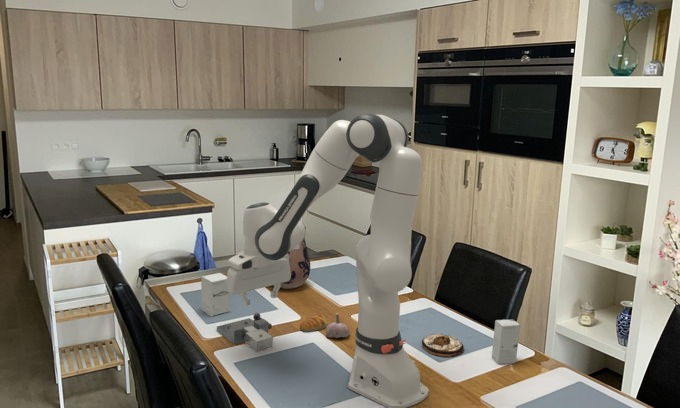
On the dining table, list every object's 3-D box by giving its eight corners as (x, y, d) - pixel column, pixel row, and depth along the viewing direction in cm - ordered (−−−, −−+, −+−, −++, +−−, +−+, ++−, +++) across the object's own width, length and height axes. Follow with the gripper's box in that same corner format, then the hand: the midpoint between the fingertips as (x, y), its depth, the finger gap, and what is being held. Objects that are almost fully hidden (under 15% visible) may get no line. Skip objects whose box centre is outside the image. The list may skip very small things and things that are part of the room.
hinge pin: (272, 327, 180) (272, 320, 179) (266, 329, 179) (266, 322, 178) (259, 318, 187) (259, 312, 186) (253, 320, 185) (253, 313, 185)
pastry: (308, 335, 176) (308, 324, 175) (294, 329, 180) (294, 318, 180) (329, 327, 182) (329, 316, 182) (315, 321, 187) (315, 310, 186)
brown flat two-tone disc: (436, 364, 160) (437, 351, 160) (409, 343, 174) (410, 330, 173) (476, 355, 167) (477, 343, 166) (447, 335, 180) (448, 324, 179)
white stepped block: (272, 347, 166) (272, 336, 166) (256, 352, 163) (257, 340, 162) (255, 334, 174) (255, 324, 174) (240, 339, 171) (240, 328, 170)
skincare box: (498, 364, 160) (502, 326, 158) (490, 357, 165) (494, 319, 162) (517, 363, 162) (521, 324, 159) (509, 356, 166) (513, 318, 164)
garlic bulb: (322, 338, 173) (323, 315, 172) (330, 329, 180) (331, 307, 179) (344, 343, 171) (345, 319, 169) (352, 334, 178) (353, 310, 176)
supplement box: (211, 317, 187) (210, 281, 184) (201, 310, 192) (200, 275, 190) (230, 311, 192) (230, 277, 189) (219, 305, 197) (219, 271, 194)
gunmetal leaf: (268, 335, 174) (268, 321, 173) (234, 344, 167) (234, 331, 166) (249, 322, 184) (249, 309, 183) (216, 330, 176) (216, 317, 175)
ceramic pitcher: (308, 294, 211) (309, 231, 206) (253, 292, 211) (254, 229, 206) (311, 279, 228) (312, 220, 223) (260, 277, 228) (261, 218, 223)
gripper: (283, 248, 170) (284, 290, 173) (223, 260, 158) (225, 305, 160) (294, 253, 165) (295, 296, 168) (233, 266, 153) (235, 312, 156)
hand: (260, 301), depth 164 cm, fingers open, 8 cm apart
